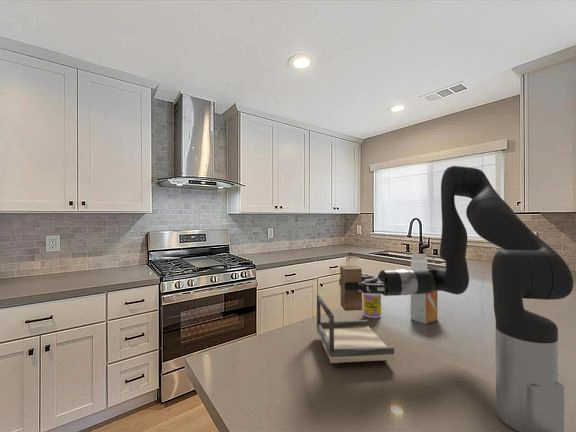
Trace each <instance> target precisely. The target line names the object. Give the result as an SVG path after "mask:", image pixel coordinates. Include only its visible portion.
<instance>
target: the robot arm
mask: <svg viewBox="0 0 576 432" xmlns="http://www.w3.org/2000/svg"><path fill="white" fill-rule="evenodd" d="M455 196H456V197H457V196H458V197H465V198H469V199H471V200H470V201H469V203H468V205H467V206H466V212H465V213H466V215H465V216H466V218H467V220H468V223H469V224H470V225H471V227H472V229H473V230H474V232H475V233H476V234H477V235H478V236H479V237H480V238H482V239H484V240H485V241H487V242H488V243H491V244H492V245H495V246H496V247H499V248H501V249H502V250H499V251H497V252H496V253H495V254H494V256H493V259H492V263H491V280H492V281H491V282H492V292H493V293H492V295H493V312H494V319H495V412H496V414H497V417H498V418H499V419H500V420H501V421H502V422H503V423H504V424H505V425H507V426H508V427H510V428H511V429H513V430H515V432H565V387H564V385H563V384H562V383H560V382H559V329H558V325H557V324H556V323H555V322H554V321H552V320H551V319H549V318H547V317H544V316H542V315H540V314H537V313H534V312H531V311H529V310H527V309H525V307H524V300H523V299H529V300H542V301H543V300H546V301H550V300H562V299H565V298H566V297H568V296H570V295H571V294H572V292H573V289H574V278H573V274H572V272H571V269H570V268H569V266H568V264H567V262H566V261H565V260H564V259H563V257H562V256H561V255H560V254H559V253H557V251H556V250H554V248H552V247H551V246H550V245H548V244H547V243H546V242H545V241H544V240H542V239H541V238H540V237H539V236H538V235H536V233H534V232H533V231H532V230H531V229H530V228H529V227H528V226H527V225H526V224H525V223H524V222H523V221H522V220H521V219H520V218H519V217H518V215H517V214H516V213H515V212H514V210H513V209H512V208H511V207H510V205H508V204H507V202H506V201H505V200H504V199H503V198H502V197H501V196H500V195H499V193H498V192H497V191H496V190H495V189H494V187H493V186H492V184H491V182H490V181H489V179H488V177H487V175H486V174H485V172H484V171H483V170H481V169H479V168H476V167H468V166H461V165H449V166H447V168H446V169H445V170H444V171H443V174H442V178H441V182H440V205H441V206H440V207H441V236H440V237H441V238H440V245H439V246H440V247H439V257H440V258H441V260H443V261H444V262H445V268H430V269H427V270H411V269H409V270H408V269H382V270H380V271H379V272H378V274H377V276H375V275H373V274H371V275H369V274H367V273H366V274H362V282H358V283H357V282H350V283H344V289H345V290H346V291H356V290H358V291H360V292H361V291H362V294H364V293H377V294H381V296H382V295H383V296H385V297H390V296H391V297H394V296H397V297H398V296H409V295H410V296H411V294H426V293H430V292H432V291H437V292H440V291H441V292H445V293H448V294H449V293H450V294H453V295H462V294H463V293H464V292H466V291H467V290H468V287H469V283H470V274H469V269H468V262H467V258H466V255H467V246H468V231H467V229H466V226H465V225H464V223H463V220H462V219H461V217H460V215H459V212H458V210H457V208H456V207H457V206H456V202H455ZM338 282H339V283H338V284H339V286H340V278H339V281H338Z"/></svg>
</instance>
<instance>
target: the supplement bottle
mask: <svg viewBox="0 0 576 432" xmlns="http://www.w3.org/2000/svg"><path fill="white" fill-rule="evenodd" d="M363 316H364V317H366V318H369V319H379V318H381V316H382V294H377V293H363Z"/></svg>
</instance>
